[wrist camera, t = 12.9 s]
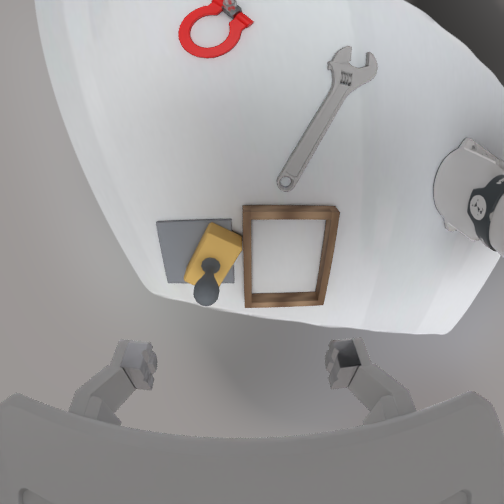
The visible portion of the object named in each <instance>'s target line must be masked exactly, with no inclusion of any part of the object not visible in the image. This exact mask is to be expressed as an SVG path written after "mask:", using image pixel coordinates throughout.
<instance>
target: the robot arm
mask: <svg viewBox="0 0 504 504" xmlns="http://www.w3.org/2000/svg"><path fill="white" fill-rule="evenodd" d="M472 146H473V147H472ZM434 201H435V205H436V208H437V210H438V211H439V213H440V214H441V215H442V217H443V218H444V223H445V227H446V229H447V230H449V231H450V232H452V231H457V230H458V231H459V232H461V233H462V234H463V235H465V236H466V237H467V238H469V239H470V240H472V241H475V240H481V241H482V242H483V243H484V244H485V245H486V246H487V247H489V248H490V249H492V250H493V251H497V252H498V253H499V254H500V255H501V256H502V257H503V258H504V161H502V160H500V159H498V158H496V157H495V156H494V155H492V154H491V153H490V152H489V151H487V150H486V149H484V148H483V147H482V146H480V145H479V144H478V143H476V142H475V141H473V140H472V139H470V138H465V139H464V141H463V142H462V144H461V145H460V147H459V148H458V149H456V150H455V151H453V152H451V153H450V154H449V155H448V156H447V157H446V158H445V159H444V161H443V162H442V164H441V165H440V167H439V170H438V172H437V175H436V178H435V183H434ZM328 346H329V350H328V351H327V352H326V355H325V366H326V370H327V371H328V372H329V373H330V375H329V377H328V379H329V383H330V387H331V389H339V388H347V387H348V389H349V390H350V391H351V392H352V393H353V394H354V395H355V396H356V397H357V398H358V400H359V401H360V402H361V403H362V404H363V405H364V406H365V407H366V408H367V409H368V410H369V411H370V413H369V414H368V416H367V417H366V418H365V419H364V421H363V424H364V425H362V426H357V427H352V428H347V429H341V430H335V431H329V432H322V433H315V434H306V435H296V436H284V437H269V438H268V437H267V438H213V437H197V436H185V435H175V434H167V433H159V432H152V431H146V430H140V429H134V428H129V427H124V426H121V421H120V419H119V418H118V417H117V416H116V415H115V414H114V413H115V412H116V411H117V410H118V408H119V407H120V406H121V405H122V404H123V403H124V402H125V401H126V400H127V398H128V397H129V396H130V395H131V394H132V393H133V392H134V391H135V389H143V390H152V386H153V382H154V378H153V375H152V374H154V373H155V372H156V369H157V356H156V354H155V352H153V351H152V348H153V346H152V344H151V342H141V341H133V340H124V339H121V340H120V341H119V342H118V345H117V347H116V350H115V353H114V356H113V358H112V361H111V364H110V366H108V365H107V366H106V367H104V368H103V369H102V370H101V371H100V372H98V373H97V374H96V375H95V376H93V377H92V378H91V379H90V380H89V381H87V382H86V383H85V384H84V385H82V386H81V387H80V388H79V389H78V390H76V391H75V394H74V397H73V400H72V402H71V405H70V408H69V411H68V412H67V411H64V410H61V409H58V408H55V407H53V406H50V405H47V404H44V403H42V402H39V401H37V400H34V399H32V398H29V397H27V396H25V395H23V394H20V393H16V394H13V395H11V396H10V397H8V398H7V399H5V400H4V401H2V402H1V403H0V504H504V435H503V431H502V428H501V425H500V422H499V419H498V416H497V414H496V411H495V409H494V407H493V405H492V404H491V402H489V401H488V400H487V399H485V398H484V397H482V396H481V395H479V394H477V393H476V392H474V391H468V392H465V393H463V394H460V395H458V396H456V397H454V398H451V399H448V400H446V401H443V402H441V403H438V404H435V405H433V406H430V407H427V408H424V409H421V410H418V411H416V408H415V405H414V403H413V400H412V397H411V395H410V392H409V390H408V389H407V388H406V387H404V386H403V385H402V384H401V383H399V382H398V381H397V380H395V379H394V378H393V377H392V376H390V375H389V374H388V373H386V372H385V371H384V370H383V369H381V368H380V367H378V366H377V365H376V364H372V362H371V359H370V356H369V354H368V351H367V349H366V346H365V343H364V341H363V339H362V338H361V337H359V338H349V339H340V340H331V341H330V342H329V345H328Z"/></svg>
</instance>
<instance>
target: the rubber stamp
mask: <svg viewBox="0 0 504 504" xmlns="http://www.w3.org/2000/svg"><path fill="white" fill-rule="evenodd" d="M241 251H242V236H240V235H238V234H236V233H234V232H232V231H230V230H228V229H225V228H223V227H221V226H219V225H217V224H215V223H213V222H211V223H209V224H208V226H207V228H206V230H205V232H204V234H203V236H202V238H201V240H200V242H199V244H198V246H197V248H196V250H195V252H194V254H193V256H192V258H191V260H190V262H189V264H188V266H187V268H186V271H185V275H184V281H185V282H188V283H190V284H192V285H195V287H194V298H195V299H196V301H197V302H198V303H199V304H200V305H203V306H209V305H212V304H213V303H214V302H216V301H217V299H218V295H219V286H220V284H221V283H222V281H223V280H224V278H225V276H226V275H227V273H228V272H229V270H230V268H231V267H232V265H233V264H234V262H235V260H236V259H237V257H238V255H239V254H240V252H241Z"/></svg>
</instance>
